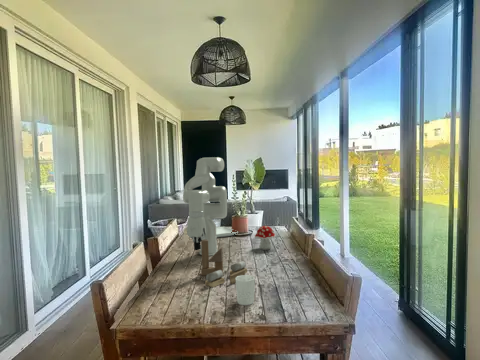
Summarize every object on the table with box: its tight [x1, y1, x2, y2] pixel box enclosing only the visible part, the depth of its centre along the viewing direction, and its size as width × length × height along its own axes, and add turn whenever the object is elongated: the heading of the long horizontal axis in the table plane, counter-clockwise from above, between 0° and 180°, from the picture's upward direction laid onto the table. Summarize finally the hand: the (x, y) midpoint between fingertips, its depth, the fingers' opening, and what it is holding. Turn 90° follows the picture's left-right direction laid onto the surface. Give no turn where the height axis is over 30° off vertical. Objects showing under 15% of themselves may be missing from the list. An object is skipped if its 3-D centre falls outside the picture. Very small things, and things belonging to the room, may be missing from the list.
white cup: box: [235, 274, 256, 306], centre depth 142 cm, size 8×8×10 cm
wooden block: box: [200, 239, 224, 277], centre depth 178 cm, size 4×11×18 cm, turn 84°
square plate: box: [216, 226, 239, 238], centre depth 277 cm, size 27×27×4 cm
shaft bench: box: [204, 260, 248, 288], centre depth 171 cm, size 10×26×6 cm, turn 142°
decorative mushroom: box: [254, 225, 276, 251], centre depth 229 cm, size 14×14×15 cm
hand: (197, 249), depth 183 cm, fingers closed
